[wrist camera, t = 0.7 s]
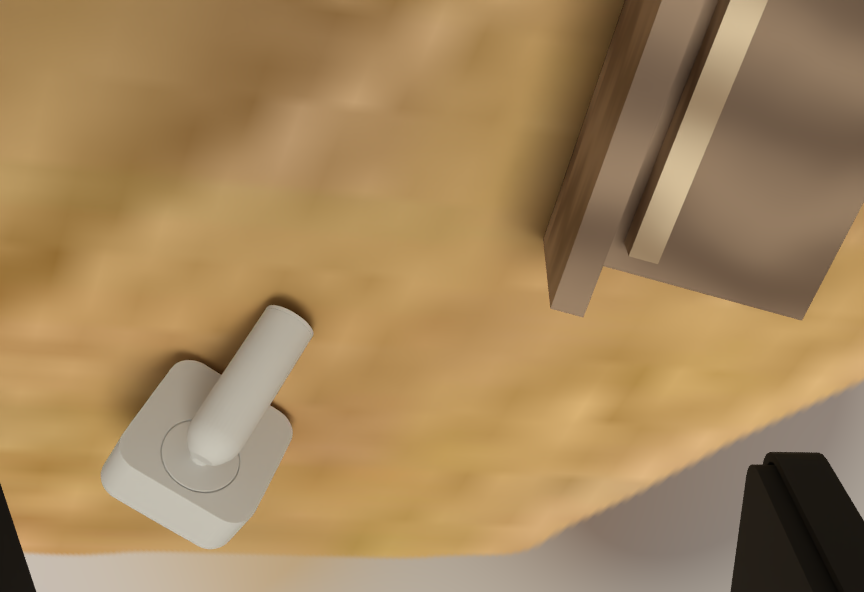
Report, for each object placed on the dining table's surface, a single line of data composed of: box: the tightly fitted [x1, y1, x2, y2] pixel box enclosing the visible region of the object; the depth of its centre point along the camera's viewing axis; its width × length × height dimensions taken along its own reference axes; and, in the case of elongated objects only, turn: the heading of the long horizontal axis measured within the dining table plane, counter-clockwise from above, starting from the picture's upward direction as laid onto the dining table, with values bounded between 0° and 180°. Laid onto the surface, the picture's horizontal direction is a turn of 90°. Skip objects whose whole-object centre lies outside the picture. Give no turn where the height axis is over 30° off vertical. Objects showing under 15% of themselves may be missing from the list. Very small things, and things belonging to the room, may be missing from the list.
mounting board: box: [543, 0, 864, 320], centre depth 35 cm, size 20×14×8 cm
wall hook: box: [101, 305, 313, 549], centre depth 44 cm, size 8×10×10 cm
